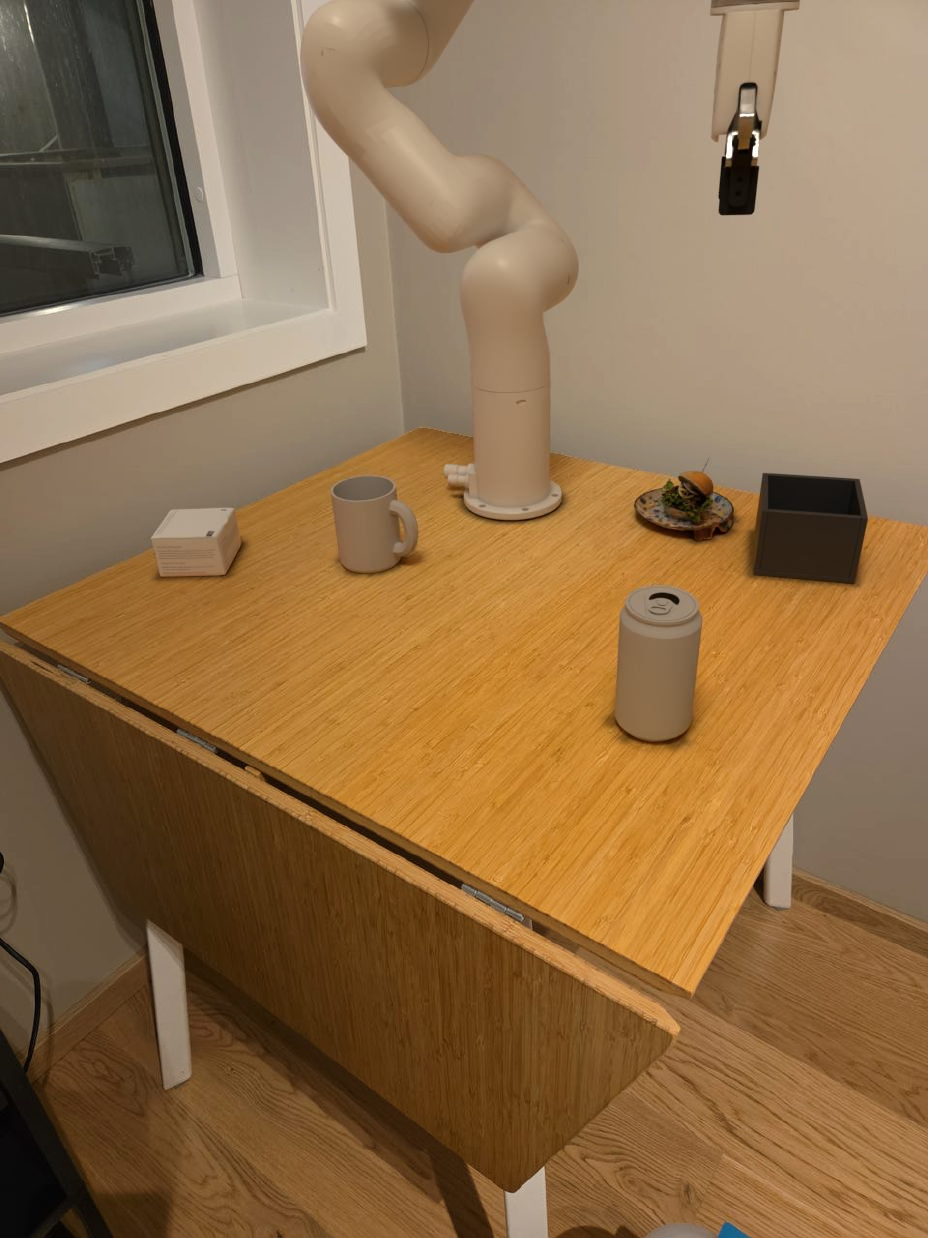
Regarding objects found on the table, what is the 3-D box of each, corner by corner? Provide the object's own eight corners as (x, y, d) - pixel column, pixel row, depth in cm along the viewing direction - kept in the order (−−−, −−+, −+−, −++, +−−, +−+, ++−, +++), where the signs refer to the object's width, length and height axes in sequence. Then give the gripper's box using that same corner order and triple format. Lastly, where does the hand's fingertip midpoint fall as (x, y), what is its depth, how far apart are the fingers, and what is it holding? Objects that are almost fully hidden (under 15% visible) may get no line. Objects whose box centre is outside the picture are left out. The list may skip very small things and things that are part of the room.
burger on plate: (628, 499, 115) (631, 444, 111) (722, 497, 114) (728, 441, 110) (640, 542, 105) (644, 483, 101) (743, 540, 104) (751, 480, 100)
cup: (359, 541, 108) (351, 471, 104) (434, 554, 105) (429, 483, 100) (328, 568, 103) (317, 496, 98) (405, 583, 99) (399, 509, 94)
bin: (753, 574, 97) (762, 510, 93) (754, 533, 106) (762, 472, 102) (854, 584, 95) (868, 518, 91) (847, 540, 103) (859, 478, 99)
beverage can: (698, 709, 78) (712, 589, 72) (680, 755, 73) (693, 630, 67) (626, 693, 80) (633, 575, 74) (604, 736, 75) (610, 614, 69)
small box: (179, 546, 109) (170, 507, 107) (243, 545, 109) (235, 506, 106) (158, 578, 103) (148, 537, 100) (226, 576, 102) (217, 536, 100)
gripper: (711, 0, 87) (696, 195, 96) (710, -10, 72) (693, 221, 81) (794, -6, 85) (771, 194, 94) (809, -17, 71) (780, 220, 80)
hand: (735, 206), depth 88 cm, fingers open, 9 cm apart
